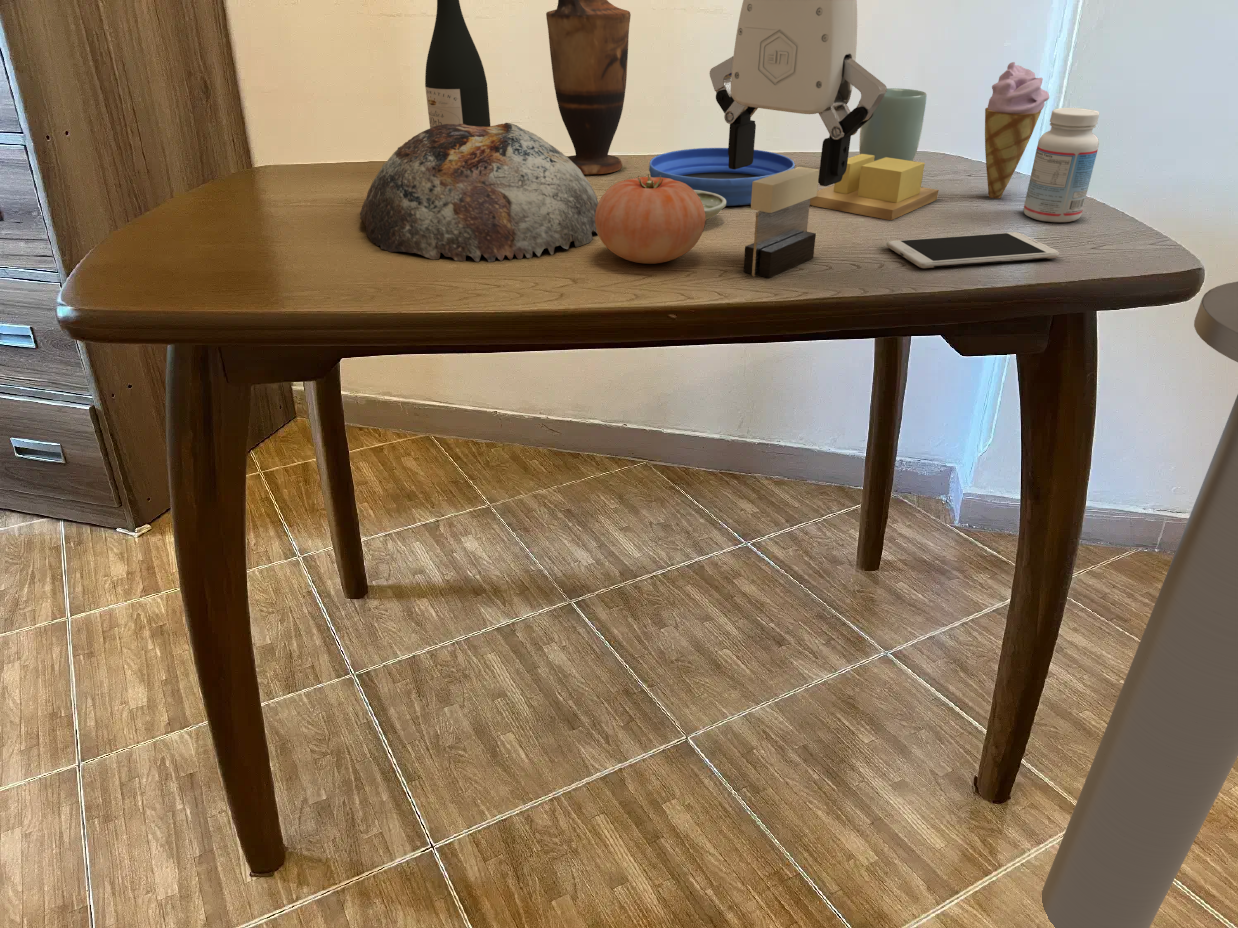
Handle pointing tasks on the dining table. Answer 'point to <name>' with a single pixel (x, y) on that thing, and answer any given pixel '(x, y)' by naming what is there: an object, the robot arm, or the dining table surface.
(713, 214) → the saucer
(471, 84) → the wine bottle
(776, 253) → the knife holder
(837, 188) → the butter slice
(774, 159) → the bowl
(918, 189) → the butter block
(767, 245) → the knife
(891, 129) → the cup
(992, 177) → the ice cream cone
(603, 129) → the vase
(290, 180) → the dining table surface
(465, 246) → the bread
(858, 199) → the board
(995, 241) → the smartphone
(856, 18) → the robot arm
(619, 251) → the tomato
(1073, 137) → the pill bottle
